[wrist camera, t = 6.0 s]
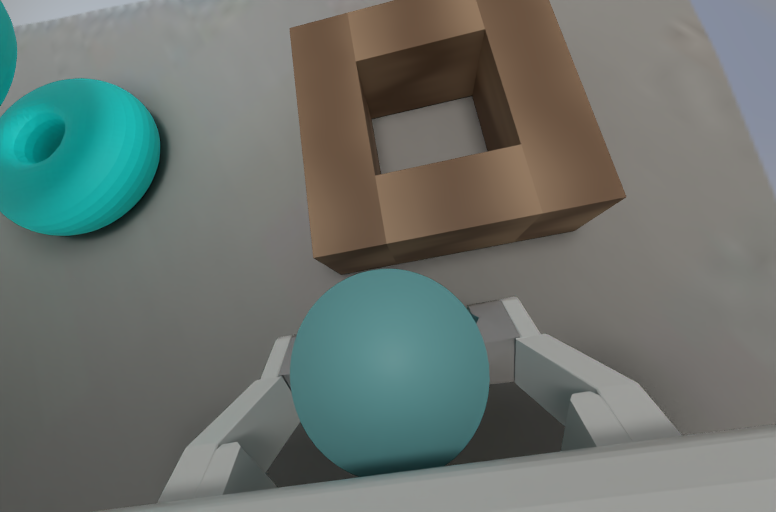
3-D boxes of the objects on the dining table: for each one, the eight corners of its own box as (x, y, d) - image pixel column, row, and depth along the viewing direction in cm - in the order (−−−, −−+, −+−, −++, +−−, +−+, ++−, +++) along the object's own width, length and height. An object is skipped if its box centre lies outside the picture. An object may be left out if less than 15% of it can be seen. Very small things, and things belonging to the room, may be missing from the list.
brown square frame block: (341, 274, 16) (313, 257, 12) (317, 89, 19) (289, 28, 15) (574, 230, 15) (626, 196, 11) (511, 42, 18) (534, -37, 14)
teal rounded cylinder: (376, 392, 14) (298, 495, 6) (364, 308, 15) (282, 286, 7) (460, 380, 14) (513, 467, 5) (442, 295, 15) (463, 253, 6)
